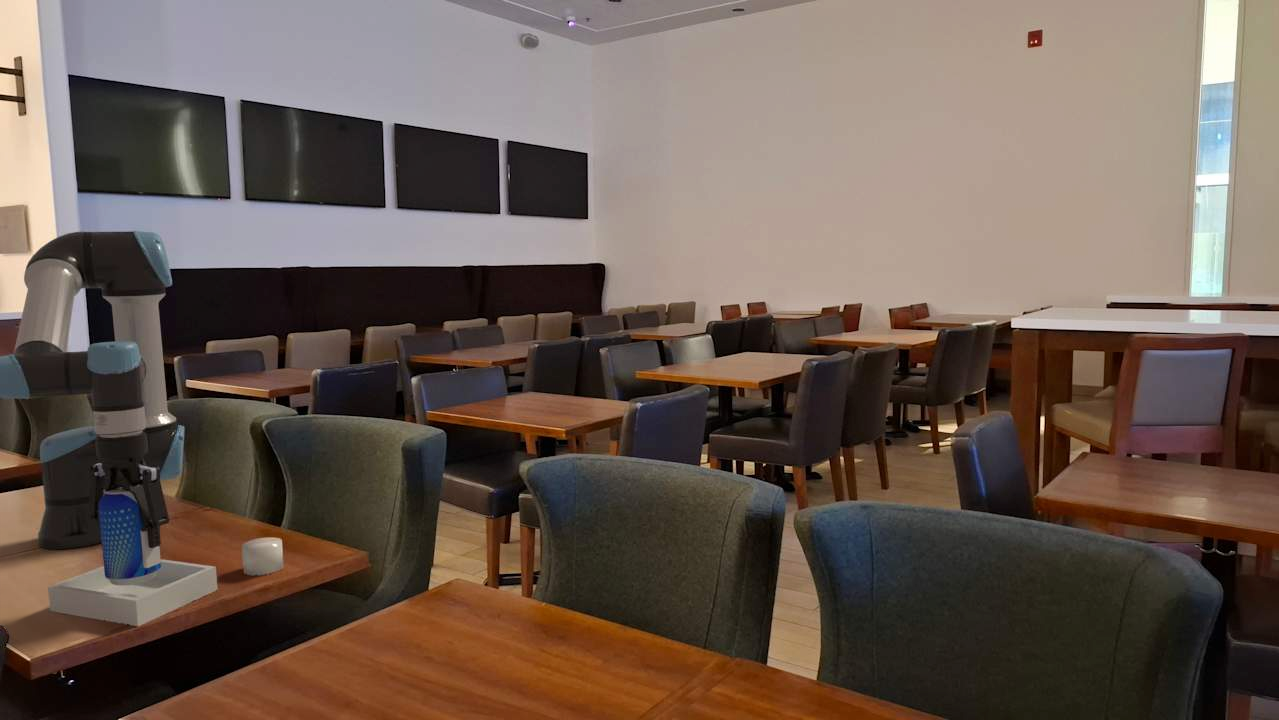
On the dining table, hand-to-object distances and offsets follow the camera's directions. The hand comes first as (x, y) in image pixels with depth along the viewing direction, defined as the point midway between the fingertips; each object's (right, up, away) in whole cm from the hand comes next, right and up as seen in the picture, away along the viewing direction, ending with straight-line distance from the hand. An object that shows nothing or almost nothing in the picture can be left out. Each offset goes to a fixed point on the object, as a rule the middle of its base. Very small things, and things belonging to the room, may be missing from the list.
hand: (132, 562), depth 149 cm
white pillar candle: (+16, -5, +15) cm, 23 cm away
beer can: (0, -3, 0) cm, 3 cm away
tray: (0, -7, +1) cm, 7 cm away
